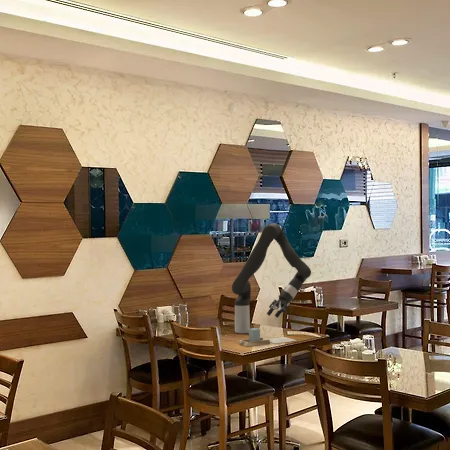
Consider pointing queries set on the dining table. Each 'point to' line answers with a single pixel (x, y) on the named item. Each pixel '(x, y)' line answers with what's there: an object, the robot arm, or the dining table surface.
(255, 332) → the slate block
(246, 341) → the shelf lane
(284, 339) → the mat
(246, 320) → the robot arm
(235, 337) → the dining table surface
